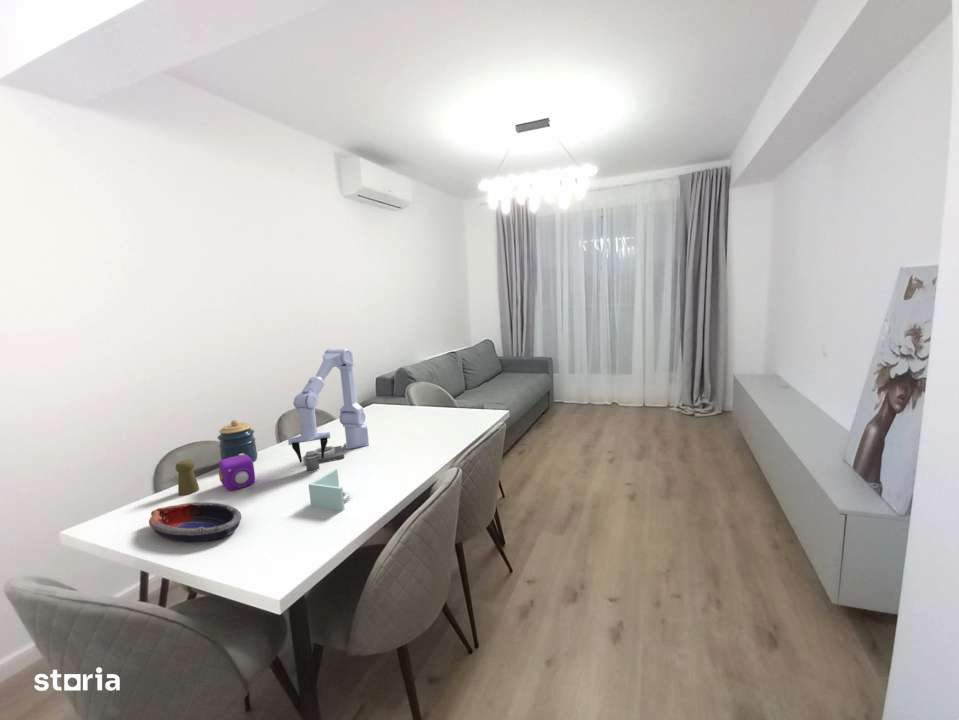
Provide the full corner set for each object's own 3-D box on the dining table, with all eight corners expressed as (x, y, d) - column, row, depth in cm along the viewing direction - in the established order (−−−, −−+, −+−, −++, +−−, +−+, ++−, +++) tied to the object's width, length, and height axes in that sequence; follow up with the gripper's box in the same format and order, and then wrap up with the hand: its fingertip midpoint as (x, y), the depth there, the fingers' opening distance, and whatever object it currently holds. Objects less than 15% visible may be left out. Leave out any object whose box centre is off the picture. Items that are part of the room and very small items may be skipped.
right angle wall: (342, 512, 123) (340, 488, 122) (311, 507, 128) (308, 484, 127) (366, 494, 135) (364, 472, 134) (336, 490, 139) (334, 469, 138)
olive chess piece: (197, 486, 147) (192, 456, 145) (201, 490, 142) (196, 460, 141) (176, 492, 143) (171, 461, 141) (179, 497, 138) (174, 466, 137)
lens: (319, 466, 159) (317, 451, 159) (319, 470, 155) (318, 455, 154) (306, 468, 158) (304, 453, 157) (306, 472, 154) (305, 457, 153)
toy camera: (232, 496, 137) (228, 468, 135) (215, 487, 145) (211, 460, 144) (265, 484, 145) (261, 457, 144) (247, 476, 154) (244, 450, 152)
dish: (207, 554, 105) (205, 536, 104) (131, 535, 116) (128, 519, 115) (259, 522, 119) (257, 506, 118) (186, 509, 130) (184, 494, 129)
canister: (242, 468, 161) (236, 425, 158) (213, 467, 163) (207, 424, 161) (264, 456, 174) (259, 415, 171) (238, 455, 176) (232, 415, 174)
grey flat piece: (341, 449, 178) (340, 442, 177) (344, 458, 167) (343, 451, 166) (306, 455, 172) (305, 448, 172) (307, 465, 161) (306, 457, 161)
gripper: (286, 430, 147) (290, 466, 149) (329, 424, 153) (332, 459, 155) (286, 425, 154) (290, 460, 156) (328, 419, 160) (331, 453, 161)
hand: (311, 459), depth 156 cm, fingers open, 7 cm apart
